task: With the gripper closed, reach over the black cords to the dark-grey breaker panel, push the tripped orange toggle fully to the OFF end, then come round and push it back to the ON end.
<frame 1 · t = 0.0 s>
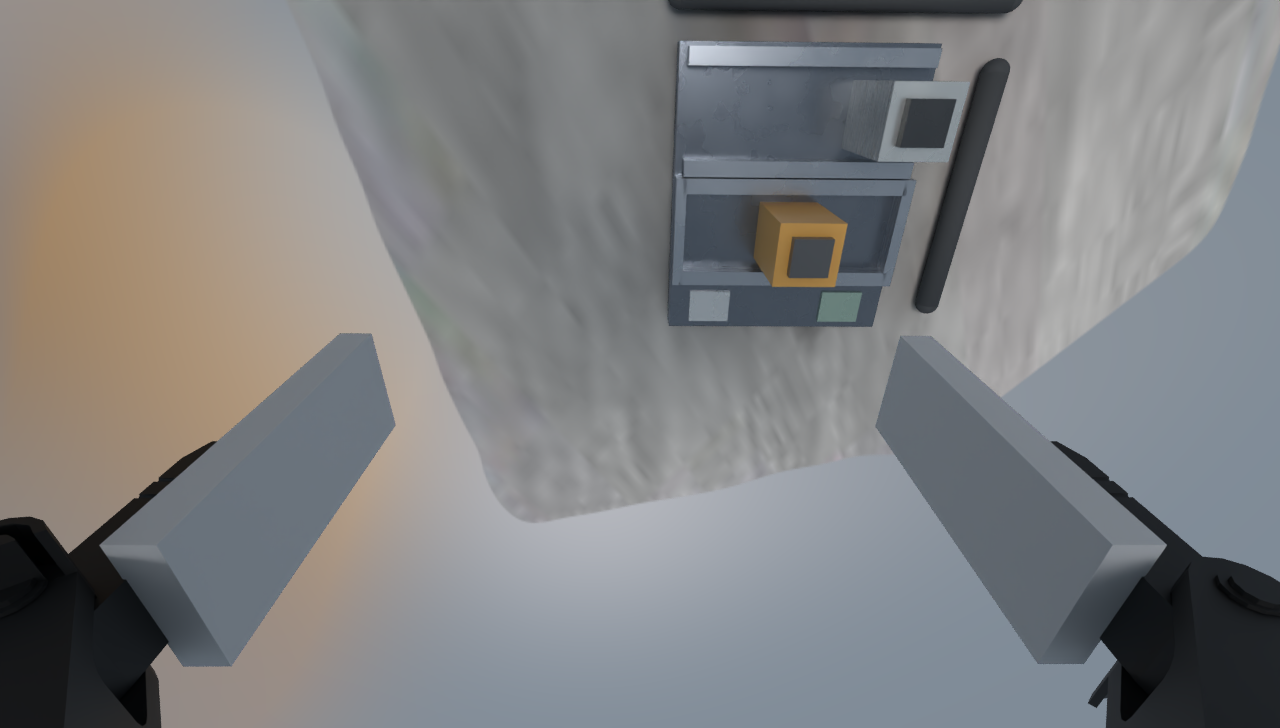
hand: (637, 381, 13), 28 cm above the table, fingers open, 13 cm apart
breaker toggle: (796, 243, 35), point 5 cm above the table, slide at 0.0 cm
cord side: (951, 197, 38), on the table
breaker panel: (781, 196, 38), on the table
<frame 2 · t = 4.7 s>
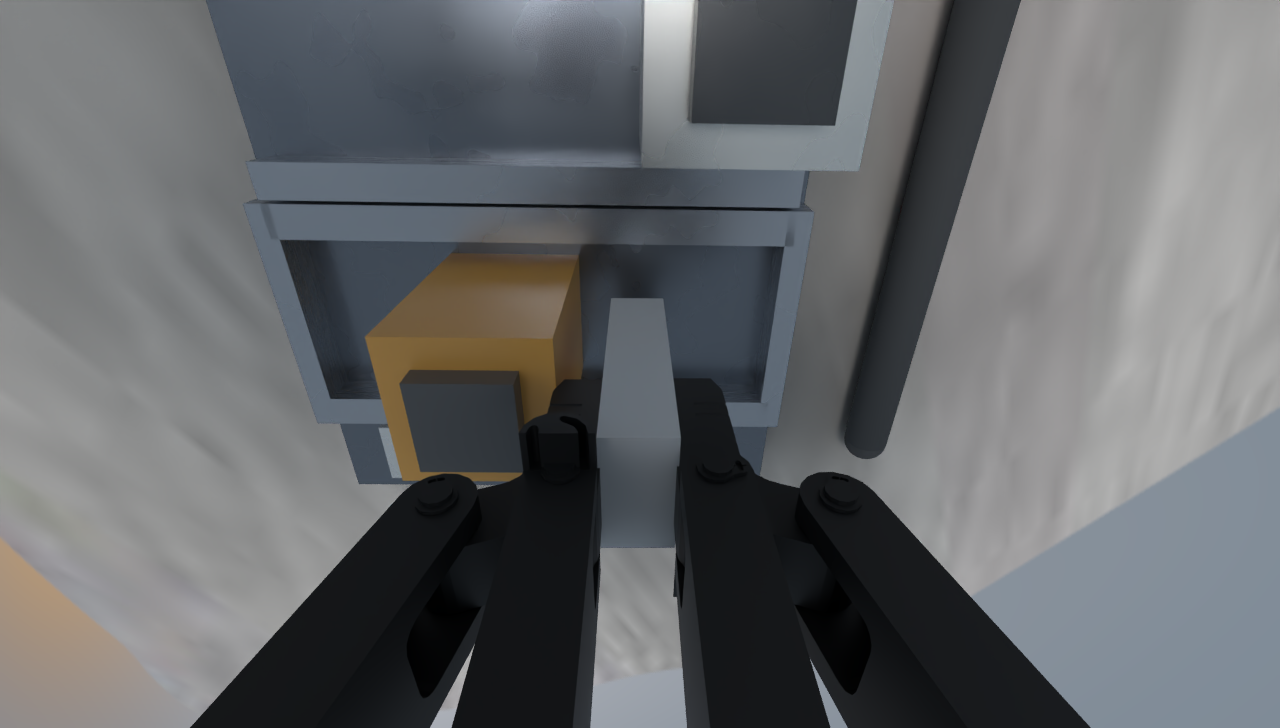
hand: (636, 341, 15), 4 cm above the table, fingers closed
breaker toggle: (498, 359, 15), point 5 cm above the table, slide at -0.9 cm, touching gripper
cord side: (907, 242, 18), on the table
breaker panel: (551, 237, 18), on the table
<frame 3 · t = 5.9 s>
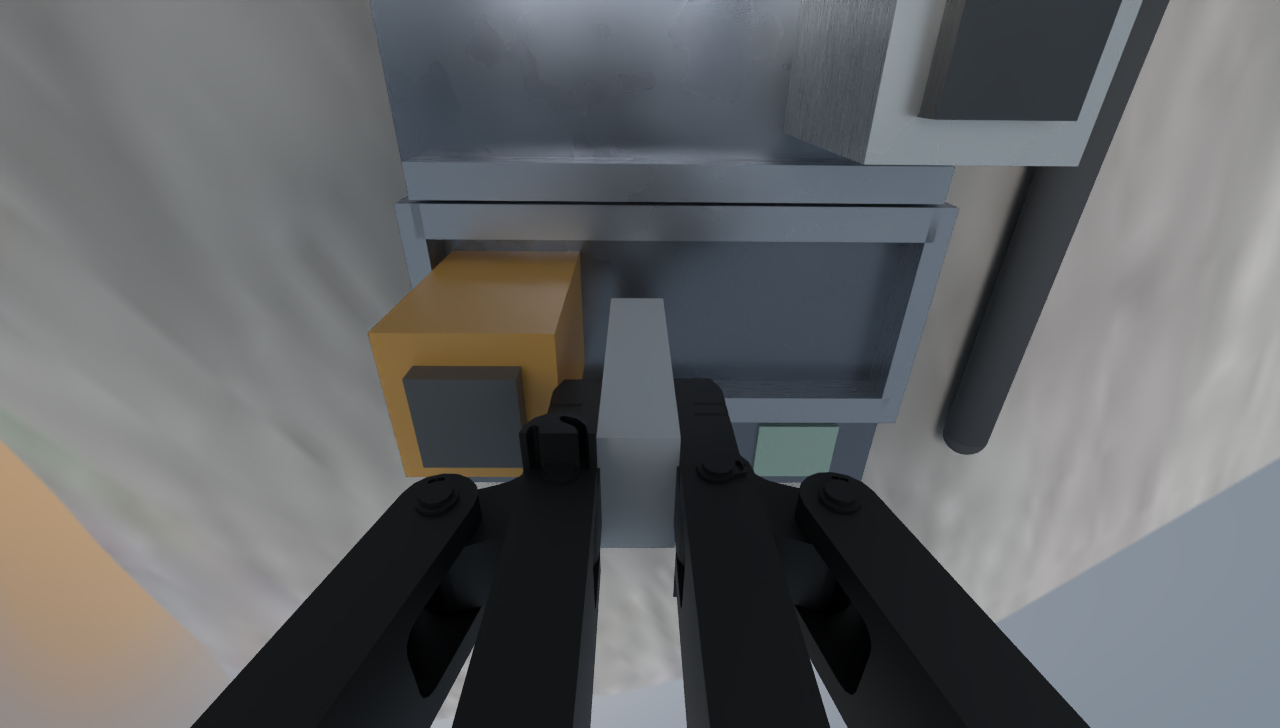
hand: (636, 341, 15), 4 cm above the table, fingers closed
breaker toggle: (500, 356, 15), point 5 cm above the table, slide at -5.0 cm, touching gripper
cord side: (1023, 237, 19), on the table
breaker panel: (669, 235, 18), on the table
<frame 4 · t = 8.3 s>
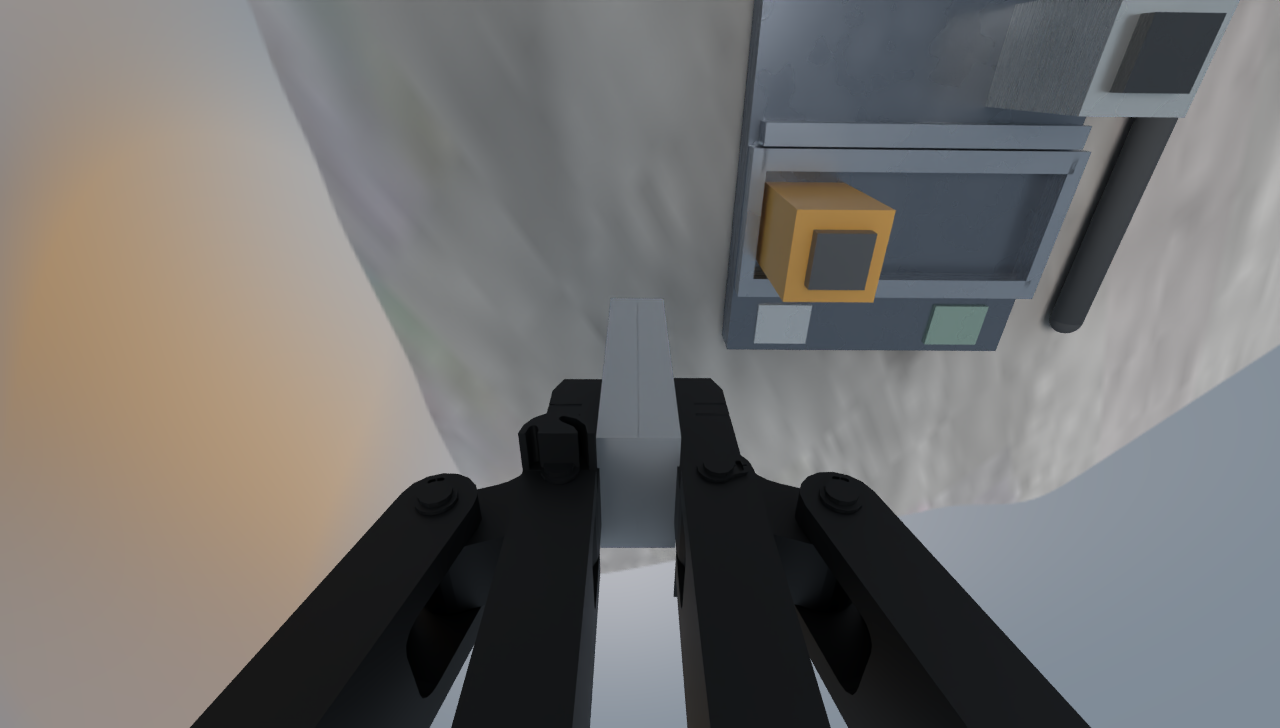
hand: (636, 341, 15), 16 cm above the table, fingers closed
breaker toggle: (817, 240, 24), point 5 cm above the table, slide at -5.0 cm
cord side: (1116, 178, 28), on the table
breaker panel: (886, 176, 28), on the table
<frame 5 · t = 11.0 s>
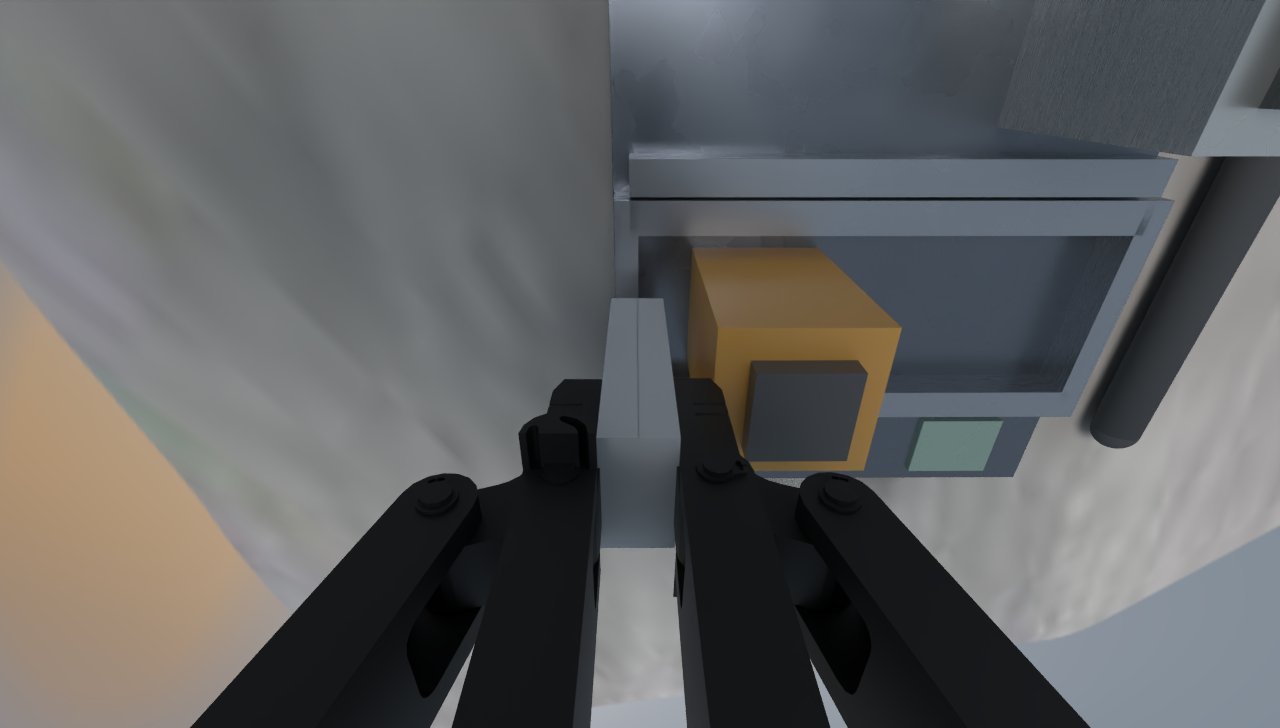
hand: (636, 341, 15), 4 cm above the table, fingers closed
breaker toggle: (770, 351, 15), point 5 cm above the table, slide at -3.5 cm, touching gripper
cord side: (1197, 230, 19), on the table
breaker panel: (844, 231, 18), on the table
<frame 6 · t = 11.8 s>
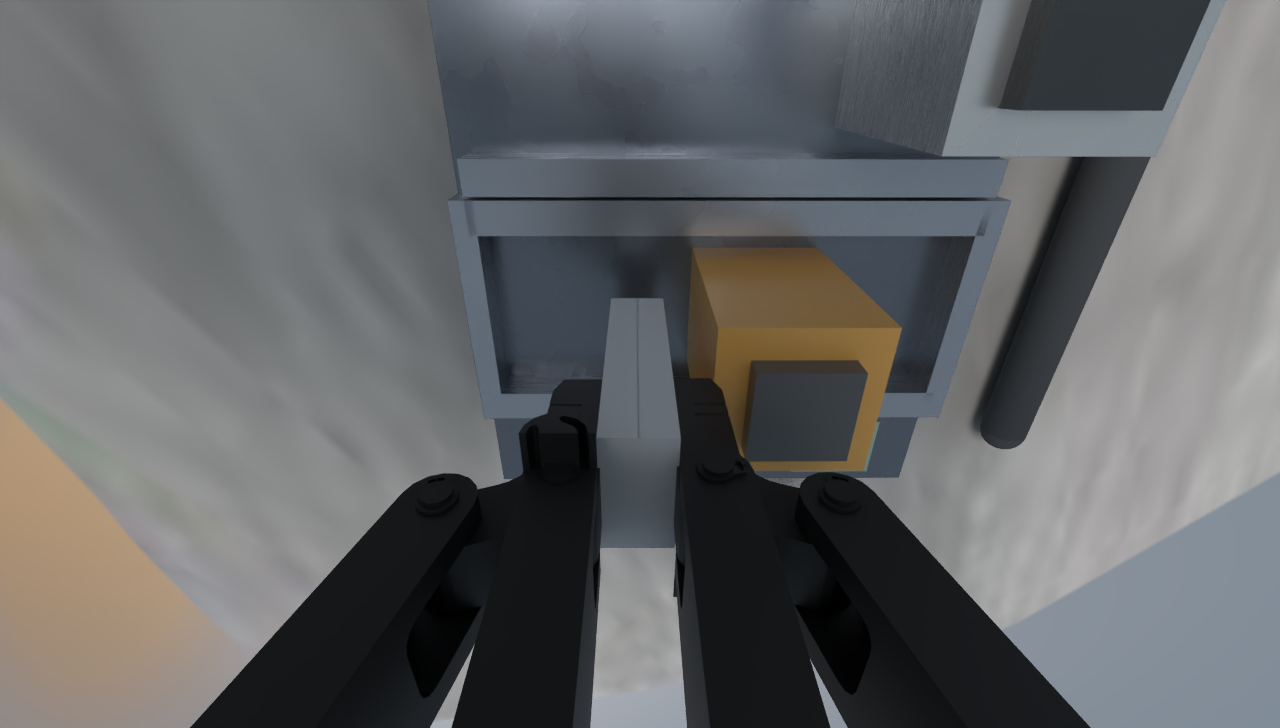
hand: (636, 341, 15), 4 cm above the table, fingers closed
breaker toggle: (770, 351, 15), point 5 cm above the table, slide at 1.1 cm, touching gripper
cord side: (1065, 231, 18), on the table
breaker panel: (711, 231, 18), on the table
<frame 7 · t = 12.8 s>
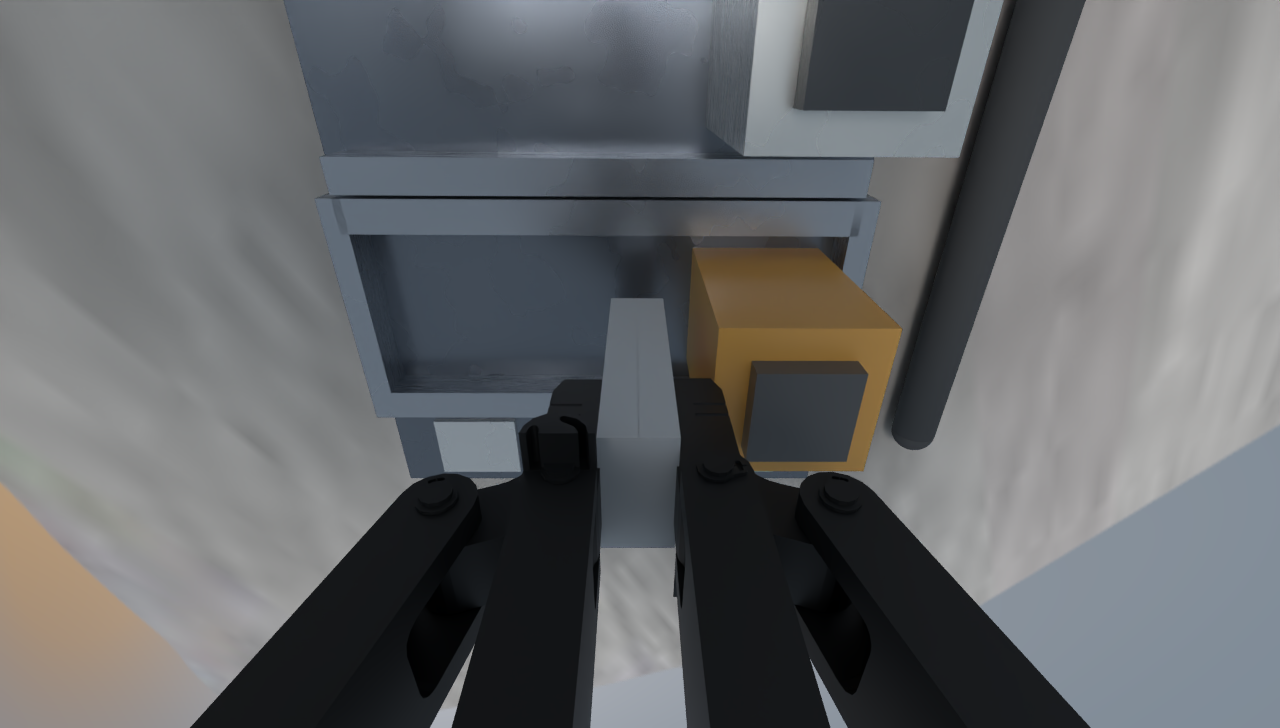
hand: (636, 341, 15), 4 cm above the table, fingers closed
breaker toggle: (770, 352, 15), point 5 cm above the table, slide at 4.8 cm, touching gripper
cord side: (961, 232, 18), on the table
breaker panel: (606, 230, 18), on the table
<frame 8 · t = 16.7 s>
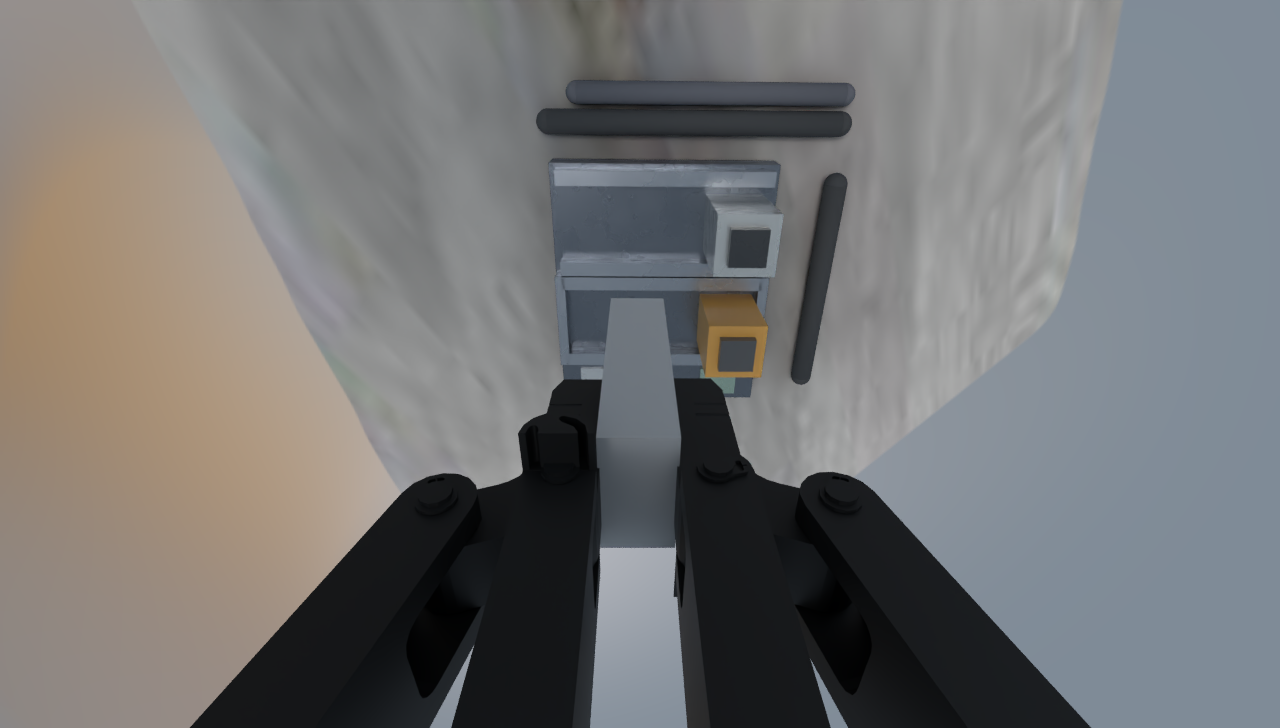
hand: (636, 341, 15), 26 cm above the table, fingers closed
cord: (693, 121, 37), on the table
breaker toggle: (729, 335, 39), point 5 cm above the table, slide at 5.0 cm
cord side: (813, 285, 43), on the table
breaker panel: (659, 284, 42), on the table
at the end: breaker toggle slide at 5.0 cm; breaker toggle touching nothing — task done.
